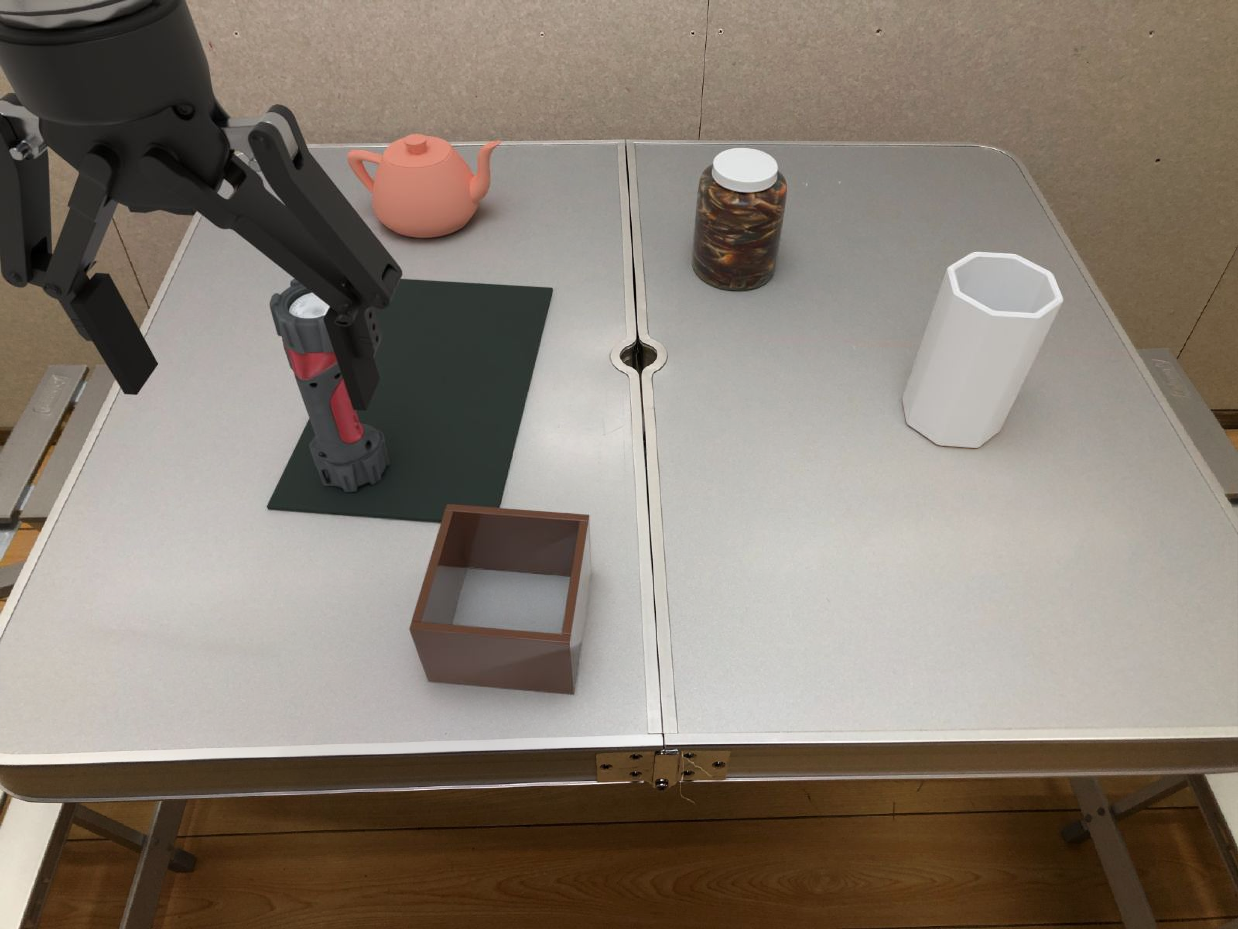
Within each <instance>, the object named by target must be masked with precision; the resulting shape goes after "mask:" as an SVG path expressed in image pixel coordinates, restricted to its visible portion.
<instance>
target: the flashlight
mask: <svg viewBox="0 0 1238 929" xmlns="http://www.w3.org/2000/svg"><path fill="white" fill-rule="evenodd" d="M342 285H343V284H342ZM268 305H269V310H270V314H271V317H272V320H273V324H274V326H275V331H276V335H277V336H278V337H281V341H282V346H283V350H284V353H285V355H286V358H287V362H288V365H289V367H290V369H291V370H292V372H293V375H294V379H295V381H296V385H297V388H298V390H299V393H300V396H301V398H302V401H303V405H304V408H305V410H306V412H307V416H308V419H309V418H310V421H311V424H312V427H313V430H314V432H315V437H314V439H313V440H312V441H311V443H310V445H309V446H310V450H311V455H312V458H313V460H314V462H315V465H316V467H317V469H318V472H319V474H320V477H321V480H322V483H323V485H324V486H339V487H341V488H343V490H344V491H345V492H356V491H357V487H358V486H361V485H363V484H366V483H370V484H372V485H374V484H376V483H377V482H378V481H380V480H381V474H382V473H383V472H384V470H385V468H386V466H389V464H390V462H389V458H388V454H387V449H386V445H385V439H384V435H383V433H382V432H381V431H380V430H376V429H375V428H374V427H372V426H370V425H367V424H361V423H359V420H358V416H357V413H356V410H353V407H352V404H351V401H350V398H349V395H348V392H347V389H346V386H345V383H344V380H343V377H342V374H341V371H340V368H339V365H338V362H337V359H336V356H335V353H334V350H333V347H332V344H331V341H330V338H329V335H328V332H327V329H326V326H325V323H324V320H323V318H324V316H325V315H326V313H327V311H328V309H329V307H330V306H329V305H327V304H326V303H325V302H324V301H322V300H321V299H320V298H318V297H317V296H316V295H315V294H313V293H312V292H311V291H310V290H308V289H307V288H306V287H305V286H303V285H302V284H301V283H299V282H298V281H297V280H296V279H294V278H293V279H291V280H290V282H289V287H287V288H286V289H285V290H283V291H281V293H279V292H277V293H276V292H275V293H273V294H272V295H271V297H270V300H269V304H268Z"/></svg>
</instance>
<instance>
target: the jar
mask: <svg viewBox="0 0 1238 929" xmlns="http://www.w3.org/2000/svg"><path fill="white" fill-rule="evenodd" d="M787 195H788V184H787V181H786V178H785V176H784V175H783V173H782V172H780V170H779V165H778V162H777V161H776V159H775V158H774V157H773V156H771V155H770V154H769V153H766V152H765V151H762V150H759V149H756V148H751V147H750V148H749V147H735V148H729V149H726V150H723V151H720V152H719V153H718V154H717V155H715V157H714V158H713V162H712V164H710V165H708V166H707V167H706V168H705V169H704V170H703V171H702V173H701V175H700V178H699V182H698V187H697V197H696V206H695V218H694V230H693V241H692V242H693V244H692V256H691V257H692V258H691V259H692V260H691V263H692V268H693V271H694V272H695V274H696V275H697V276H698V278H699V279H701V281H703V282H704V283H706V284H708V285H710V286H712V287H715V288H718V289H721V290H724V291H725V290H726V291H735V292H742V291H749V290H754V289H757V288H760V287H762V286H764V285H766V284H767V283H768V282H769V281H770V280H771V279H772V278H773V276H774V274H775V271H776V266H777V260H778V255H779V248H780V242H781V237H782V230H783V225H784V224H783V223H784V217H785V211H786V204H787Z"/></svg>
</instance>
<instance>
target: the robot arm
mask: <svg viewBox="0 0 1238 929" xmlns="http://www.w3.org/2000/svg"><path fill="white" fill-rule="evenodd" d="M202 44H203V43H202V41H201V39H200V36H199V32H198V30H197V27H196V25H195V22H194V19H193V16H192V14H191V11H190V7H189V5H188V3H187V0H0V68H1V70H2V72H3V74H4V75H5V77H6V79H7V81H8V83H9V84H10V86H11V88H12V90H13V92H8V93H5V95H3V96H2V97H0V272H1V276H2V277H3V280H5V282H7V283H9V285H11V286H13V287H15V288H20V289H22V288H26V287H27V286H28V285H33V286H36V287H40V288H42V290H43V292H44V294H46V295H47V296H48V297H50V298H53V299H54V300H57V301H58V302H59V304H60V306H61V307H62V309H63V311H64V312H65V314H66V316H67V317H68V318H69V320H70V322H71V324H72V325H73V327H74V328H75V330H76V332H77V333H78V335H80V337H82V338H83V339H84V340H85V342H92V343H93V345H94V346H95V348H96V350H97V352H98V353H99V355H100V356H101V358H102V360H103V361H104V363H105V365H106V366H107V368H108V370H109V371H110V373H111V375H112V376H113V378H114V379H115V382H116V383H117V384H118V386H119V388H120V389H121V391H122V393H123V394H124V395H131V396H137V395H139V393H140V392H141V390H142V389H143V387H144V386H145V384H146V383H147V382H148V380H149V378H150V377H151V375H152V374H153V373H154V371H155V370H156V369H157V367H158V366H159V363H158V360H157V359H156V357H155V355H154V354H153V351H152V349H151V347H150V345H149V344H148V343H147V341H146V339H145V336H144V335H143V333H142V331H141V330H140V327H139V326H138V324H137V322H136V320H135V318H134V317H133V315H132V313H131V311H130V309H129V307H128V306H127V304H126V302H125V299H123V297H122V295H121V293H120V291H119V289H118V287H117V285H116V284H115V282H114V280H113V278H112V276H111V275H110V273H109V272H107V273H106V272H95V273H94V274H93V275H92V276H91V278H89V276H88V273H89V272H90V271H91V269H92V268H93V267H94V266H95V265H96V264H97V263H98V261H97V260H95V259H96V257H97V254H98V252H99V250H100V247H101V245H102V242H103V240H104V238H105V236H106V233H107V231H108V228H109V227H110V224H111V221H112V219H113V217H114V214H115V212H116V211H117V210H116V209H117V207H118V205H119V204H120V205H122V206H124V207H127V209H128V211H129V213H136V214H137V213H139V214H147V213H153V212H156V211H157V212H158V211H162V212H166V213H169V214H173V215H177V216H192V217H194V216H195V215H196V213H198V214H200V215H201V216H203V217H204V218H205V219H206V220H208V221H209V222H210V223H211V224H213V225H214V226H215V227H217V228H218V229H221V230H231V231H233V232H234V233H236V234H238V235H239V237H241V238H242V239H244V240H245V241H246V242H248V243H249V244H250V245H251V246H252V247H253V248H255V249H256V250H258V251H259V252H260V253H261V254H262V255H264V256H265V257H266V258H268V259H269V260H270V261H272V262H273V263H274V264H275V265H277V266H278V267H279V268H280V269H282V270H283V272H285V273H287V274H288V275H289V276H291V277H292V278H293V279H296V280H297V281H298V282H299V283H301V284H302V285H303V286H305V287H306V288H307V289H308V290H310V291H311V292H312V293H313V294H315V295H316V296H317V297H318V298H320V299H321V300H322V301H324V302H325V303H326V304H327V305H329V306H330V307H329V309H328V311H327V313H326V315H325V316H324V318H323V320H324V323H325V326H326V329H327V332H328V335H329V338H330V341H331V344H332V347H333V350H334V353H335V356H336V359H337V362H338V365H339V368H340V371H341V374H342V377H343V380H344V383H345V386H346V389H347V392H348V395H349V398H350V401H351V404H352V407H353V410H362V411H366V410H367V408H368V406H369V403H370V401H371V399H372V396H373V394H374V392H375V389H376V387H377V384H378V382H379V380H380V377H379V374H378V370H377V367H376V363H375V360H374V356H375V354H376V351H377V349H378V347H379V345H380V342H381V338H382V333H381V330H380V326H379V322H378V319H377V315H376V311H375V308H377V309H385V308H387V307H388V306H389V304H390V301H391V299H392V297H393V295H394V293H395V291H396V288H397V286H398V284H399V282H400V279H402V277H403V269H402V267H401V266H400V265H399V263H398V262H397V260H395V259H394V257H393V256H392V255H391V253H390V252H389V250H387V248H386V247H385V246H384V245H383V243H382V242H381V240H379V238H378V237H377V236H376V234H375V233H374V232H373V231H372V229H371V228H370V227H369V226H368V224H367V223H366V222H365V220H364V219H363V218H362V216H360V214H359V213H358V211H356V209H355V208H354V207H353V205H352V204H351V203H350V201H349V200H348V199H347V198H346V197H345V195H344V193H342V191H341V190H340V189H339V187H338V186H337V185H336V184H335V182H334V181H333V180H332V178H330V176H329V174H327V172H326V171H325V170H324V168H323V167H322V166H321V165H320V163H319V161H317V160H316V158H315V157H314V156H313V154H312V153H311V152H310V150H309V147H308V145H307V143H306V140H305V138H304V136H303V133H302V131H301V130H302V129H301V128H300V126H299V123H298V121H297V119H296V116H295V114H294V113H293V111H292V110H291V109H290V108H289V107H287V106H285V105H284V104H280V103H279V104H278V103H276V104H273V105H271V106H270V108H268V110H267V111H266V112H265V114H263V115H257V116H256V115H255V116H245V117H242V116H241V117H231V116H230V115H229V113H228V112H227V111H226V110H225V109H224V108H223V107H222V105H221V104H220V102H219V101H218V99H217V97H216V96H215V92H214V90H213V89H214V88H213V83H212V76H211V71H210V70H211V69H210V65H209V61H208V58H207V55H206V52H205V50H204V47H203V45H202ZM48 148H49V149H50V150H52V151H53V152H54V153H55V154H56V155H58V156H59V157H60V158H61V159H62V160H64V161H65V162H66V163H67V164H68V165H70V166H71V167H72V168H73V169H75V170H76V171H77V172H78V174H77V178H76V180H75V182H74V186H73V189H72V191H71V194H70V197H69V200H68V203H67V208H68V212H67V214H66V217H65V220H64V223H63V226H62V228H61V231H60V233H59V236H58V239H57V242H56V244H55V247H54V249H53V238H52V235H53V233H52V212H51V211H52V210H51V209H52V208H51V186H50V184H51V183H50V162H49V161H50V160H49V150H48ZM236 151H238V152H240V153H242V154H244V155H245V156H246V157H247V159H248V160H249V161H248V164H247V163H246V161H245V162H244V160H242V159H241V158H240V157H239V156H238V155H236V153H235V152H236ZM260 172H261V173H262V175H263V177H264V179H265V180H266V182H267V183H268V185H269V187H270V188H271V190H272V191H273V192H274V193H275V195H276V196H277V197H278V198H279V199H278V198H277V197H276V196H274V195H273V193H272V192H270V191H269V190H268V189H267V188H266V187H265V184H264V180H263V178H262V176H261V175H260V174H259V173H260ZM224 181H226V182H227V183H228V184H229V185H230V186H231V187H232V189H233V191H232V193H231V194H230V195H229V197H228V198H226V197H223V196H222V195H221V194H219V191H220V190H221V188H222V186H223V183H224ZM342 284H343V285H342ZM374 307H375V308H374Z"/></svg>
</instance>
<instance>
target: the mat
mask: <svg viewBox="0 0 1238 929" xmlns="http://www.w3.org/2000/svg"><path fill="white" fill-rule="evenodd" d="M553 292H554V288H553V287H550V286H549V287H548V286H533V285H532V286H531V285H518V284H517V285H514V284H512V285H511V284H499V283H481V282H466V281H465V282H464V281H449V280H447V281H445V280H444V281H443V280H431V279H430V280H429V279H412V278H411V279H410V278H401V279H400V282H399V284H398V286H397V288H396V291H395V293H394V295H393V297H392V299H391V301H390V304H389V306H388V307H387V308H385V309H377V308H375V307H374V308H375V311H376V315H377V319H378V322H379V326H380V330H381V333H382V338H381V342H380V345H379V347H378V349H377V351H376V354H375V356H374V360H375V363H376V367H377V370H378V374H379V377H380V380H379V382H378V384H377V387H376V389H375V392H374V394H373V396H372V399H371V401H370V403H369V406H368V408H367V410H366V411H362V410H356V413H357V416H358V420H359V423H361V424H367V425H370V426H372V427H374V428H375V429H376V430H380V431H381V432H382V433H383V435H384V439H385V445H386V449H387V454H388V458H389V462H390V464H389V466H386V468H385V470H384V472H383V473H382V474H381V480H380V481H378V482H377V483H376V484H374V485H372V484H370V483H366V484H363V485H361V486H358V487H357V491H356V492H345V491H344V490H343V488H341V487H339V486H324V485H323V483H322V480H321V477H320V474H319V472H318V469H317V467H316V465H315V462H314V460H313V458H312V455H311V450H310V446H309V445H310V443H311V441H312V440H313V439H314V437H315V432H314V430H313V427H312V424H311V421H310V418H309V417H308V419H307V421H306V424H305V426H304V428H303V429H302V433H301V434H300V436H299V438H298V441H297V443H296V444H295V446H294V448H293V451H292V453H291V455H290V457H289V459H288V460H287V464H286V465H285V467H284V470H283V472H282V474H281V476H280V477H279V480H278V482H277V484H276V486H275V487H274V490H273V492H272V495H271V496H270V499H269V501H268V502H267V505H266V509H267V510H270V511H271V510H272V511H283V512H295V513H296V512H297V513H310V514H322V515H334V516H335V515H336V516H347V517H348V516H349V517H360V518H361V517H362V518H375V519H387V520H401V521H412V522H425V523H426V522H427V523H438V524H441V521H442V518H443V515H444V511H445V508H446V505H447V504H454V505H467V506H480V507H493V508H501V503H502V499H503V495H504V491H505V486H506V482H507V479H508V475H509V470H510V466H511V462H512V459H513V454H514V450H515V447H516V442H517V439H518V438H517V437H518V433H519V430H520V426H521V423H522V418H523V413H524V409H525V405H526V401H527V397H528V393H529V390H530V385H531V381H532V377H533V373H534V368H535V365H536V361H537V357H538V352H539V350H540V344H541V341H542V337H543V332H544V328H545V324H546V319H547V316H548V312H549V307H550V304H551V299H552V295H553Z"/></svg>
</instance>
